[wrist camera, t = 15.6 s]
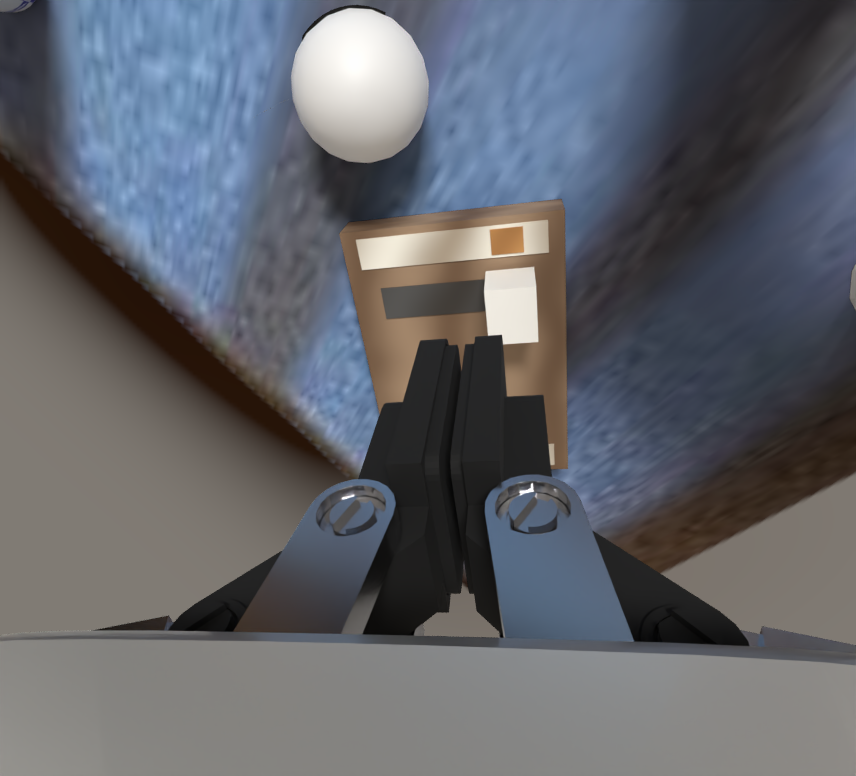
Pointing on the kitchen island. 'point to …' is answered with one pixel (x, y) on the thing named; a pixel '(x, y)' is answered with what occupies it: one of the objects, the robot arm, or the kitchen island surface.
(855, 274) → the french press
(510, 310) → the tab
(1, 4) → the energy drink
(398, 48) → the seamed sphere
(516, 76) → the kitchen island surface
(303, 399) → the kitchen island surface
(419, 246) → the switch board
